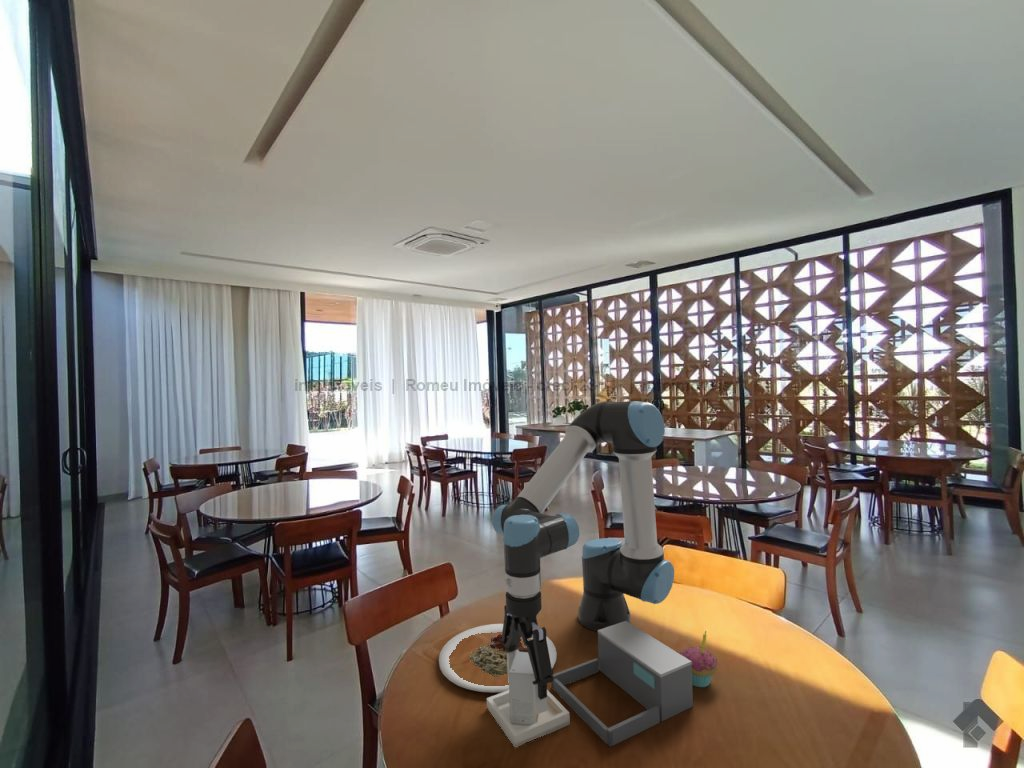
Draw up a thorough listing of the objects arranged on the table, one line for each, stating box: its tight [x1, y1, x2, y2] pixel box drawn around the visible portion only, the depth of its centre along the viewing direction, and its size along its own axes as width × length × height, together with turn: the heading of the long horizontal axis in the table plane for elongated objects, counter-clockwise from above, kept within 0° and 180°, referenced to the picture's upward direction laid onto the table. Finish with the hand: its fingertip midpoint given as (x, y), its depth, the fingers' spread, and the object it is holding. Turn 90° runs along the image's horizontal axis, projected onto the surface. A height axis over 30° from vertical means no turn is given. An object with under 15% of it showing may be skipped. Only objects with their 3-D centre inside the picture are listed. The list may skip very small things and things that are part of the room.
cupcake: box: [678, 630, 718, 688], centre depth 109 cm, size 9×8×12 cm
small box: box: [509, 652, 539, 725], centre depth 100 cm, size 8×6×10 cm
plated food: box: [438, 623, 558, 694], centre depth 121 cm, size 30×30×3 cm
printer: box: [550, 621, 694, 748], centre depth 105 cm, size 21×23×10 cm
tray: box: [486, 689, 571, 748], centre depth 99 cm, size 13×13×2 cm
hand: (526, 695), depth 99 cm, fingers open, 11 cm apart
